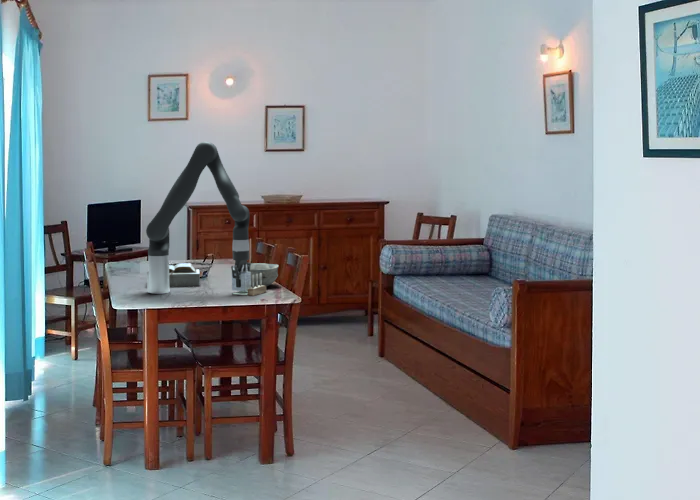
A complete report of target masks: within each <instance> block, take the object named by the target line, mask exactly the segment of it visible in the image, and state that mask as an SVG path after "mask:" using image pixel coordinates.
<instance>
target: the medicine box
mask: <svg viewBox="0 0 700 500" xmlns="http://www.w3.org/2000/svg"><path fill="white" fill-rule="evenodd" d="M238 275H239V274H238ZM249 288H252V287H251V272H246V271H243V273H242V274H241V287H240V288H238V287H236V279H235V278H233V275H232V274H231V291H236V292H239V291H245V292H246V291H247V289H249Z"/></svg>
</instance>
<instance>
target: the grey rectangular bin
mask: <svg viewBox="0 0 700 500" xmlns="http://www.w3.org/2000/svg"><path fill="white" fill-rule="evenodd" d="M200 275H201V272H200V268H199V269H196V268H195V267H194V266H193V264H192V263H190V262H187V263H184V262H183V263H182V262H180V263H177V264H176V265H175V266H174V265H172V264H169V284H170V288H186V287H188V286H190V287H193V286H194V287H200V286H201V281H200V277H201V276H200ZM190 287H188V288H190ZM194 287H193V288H194Z"/></svg>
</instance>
